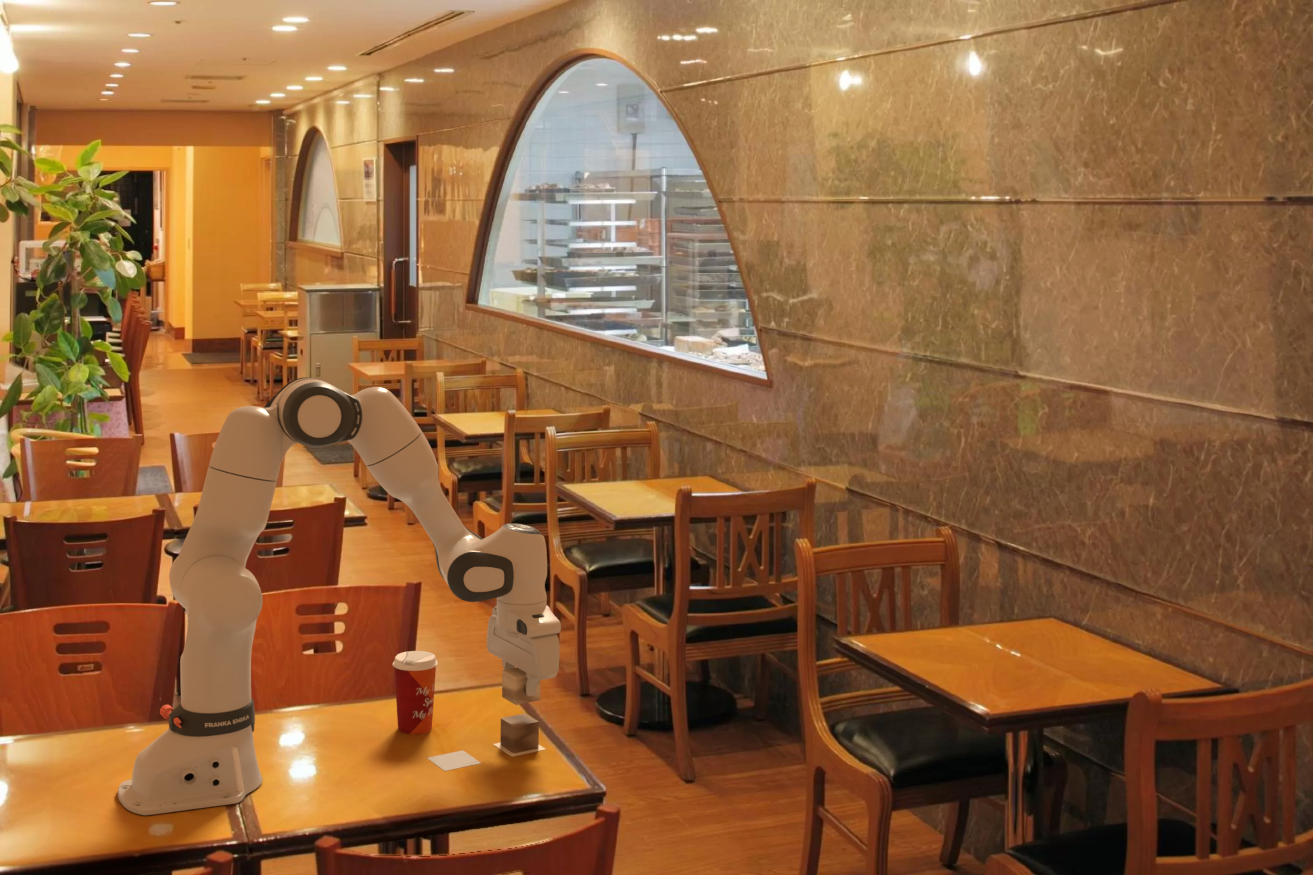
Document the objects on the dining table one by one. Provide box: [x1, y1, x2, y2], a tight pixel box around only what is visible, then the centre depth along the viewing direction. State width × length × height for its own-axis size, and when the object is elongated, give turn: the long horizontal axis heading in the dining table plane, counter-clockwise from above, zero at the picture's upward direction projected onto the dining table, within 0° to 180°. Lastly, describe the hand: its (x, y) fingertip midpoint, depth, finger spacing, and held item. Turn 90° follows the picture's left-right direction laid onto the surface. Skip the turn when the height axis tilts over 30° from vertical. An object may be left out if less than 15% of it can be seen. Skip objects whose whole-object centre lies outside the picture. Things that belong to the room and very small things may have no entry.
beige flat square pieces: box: [426, 742, 547, 772], centre depth 238 cm, size 22×14×1 cm, turn 125°
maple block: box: [501, 667, 542, 706], centre depth 240 cm, size 5×5×5 cm
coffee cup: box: [392, 650, 439, 735], centre depth 249 cm, size 8×8×15 cm
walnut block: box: [499, 713, 540, 754], centre depth 241 cm, size 5×5×5 cm
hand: (520, 689), depth 240 cm, fingers closed on maple block, 5 cm apart
